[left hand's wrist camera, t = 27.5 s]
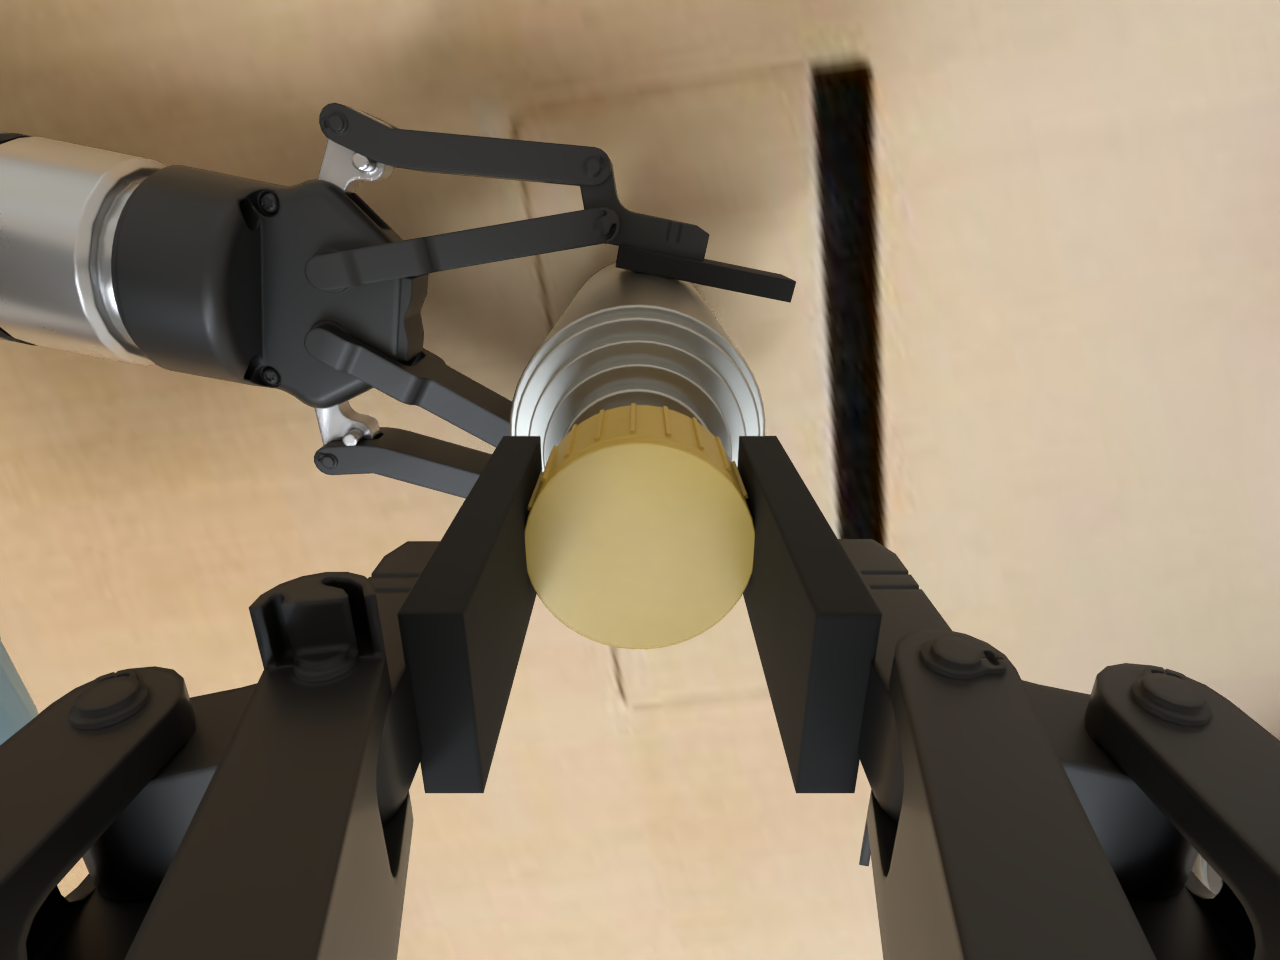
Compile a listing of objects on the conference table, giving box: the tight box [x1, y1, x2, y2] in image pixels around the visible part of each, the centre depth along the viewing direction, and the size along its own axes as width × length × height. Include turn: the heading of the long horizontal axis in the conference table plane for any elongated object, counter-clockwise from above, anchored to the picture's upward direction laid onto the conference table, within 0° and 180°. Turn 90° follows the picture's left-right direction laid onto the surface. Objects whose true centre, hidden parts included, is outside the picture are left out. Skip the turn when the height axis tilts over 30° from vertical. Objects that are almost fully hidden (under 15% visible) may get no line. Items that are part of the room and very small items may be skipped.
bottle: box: [510, 263, 765, 472], centre depth 23 cm, size 7×7×21 cm
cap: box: [525, 403, 755, 649], centre depth 13 cm, size 4×4×2 cm
